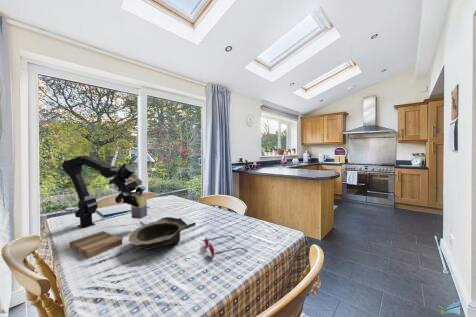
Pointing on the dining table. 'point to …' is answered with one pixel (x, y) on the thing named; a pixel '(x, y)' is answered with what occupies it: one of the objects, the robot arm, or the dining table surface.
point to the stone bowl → (158, 233)
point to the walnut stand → (95, 244)
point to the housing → (142, 208)
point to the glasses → (213, 248)
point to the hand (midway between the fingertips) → (141, 205)
